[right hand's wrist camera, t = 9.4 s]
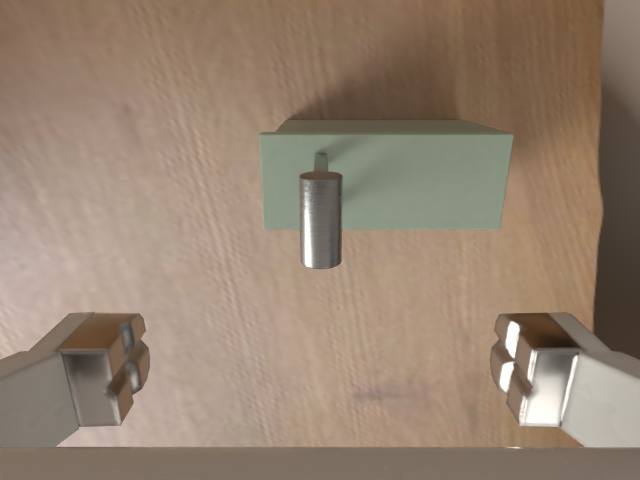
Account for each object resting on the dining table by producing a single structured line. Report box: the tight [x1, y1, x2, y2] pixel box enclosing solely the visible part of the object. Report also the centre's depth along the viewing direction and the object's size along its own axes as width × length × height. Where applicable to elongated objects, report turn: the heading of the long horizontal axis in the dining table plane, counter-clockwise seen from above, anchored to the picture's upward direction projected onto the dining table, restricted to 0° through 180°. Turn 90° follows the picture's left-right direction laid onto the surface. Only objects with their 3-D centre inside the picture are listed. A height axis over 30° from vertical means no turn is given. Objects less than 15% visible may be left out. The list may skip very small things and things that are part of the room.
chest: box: [276, 120, 503, 132], centre depth 31 cm, size 14×6×9 cm, turn 90°
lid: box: [259, 132, 514, 269], centre depth 22 cm, size 14×6×9 cm, turn 90°
